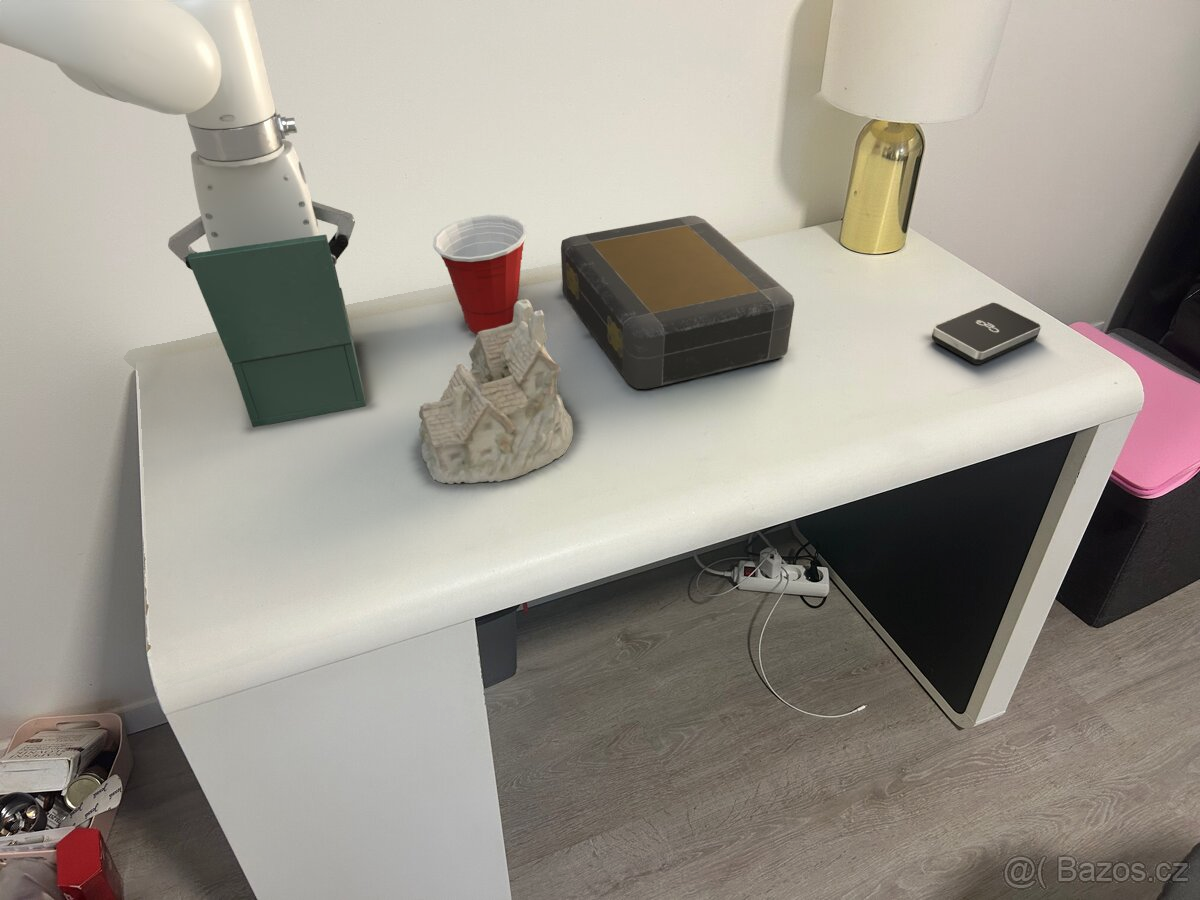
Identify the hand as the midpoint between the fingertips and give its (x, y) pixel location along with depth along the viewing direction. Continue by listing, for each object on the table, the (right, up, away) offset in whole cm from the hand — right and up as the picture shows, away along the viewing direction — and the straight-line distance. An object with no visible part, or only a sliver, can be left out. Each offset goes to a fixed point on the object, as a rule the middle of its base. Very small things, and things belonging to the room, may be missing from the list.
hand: (283, 304), depth 87 cm
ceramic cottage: (+22, -13, 0) cm, 26 cm away
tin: (0, -8, +6) cm, 10 cm away
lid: (+2, -1, -8) cm, 9 cm away
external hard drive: (+78, -2, +12) cm, 79 cm away
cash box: (+41, 0, +16) cm, 44 cm away
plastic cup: (+19, 0, +16) cm, 25 cm away
